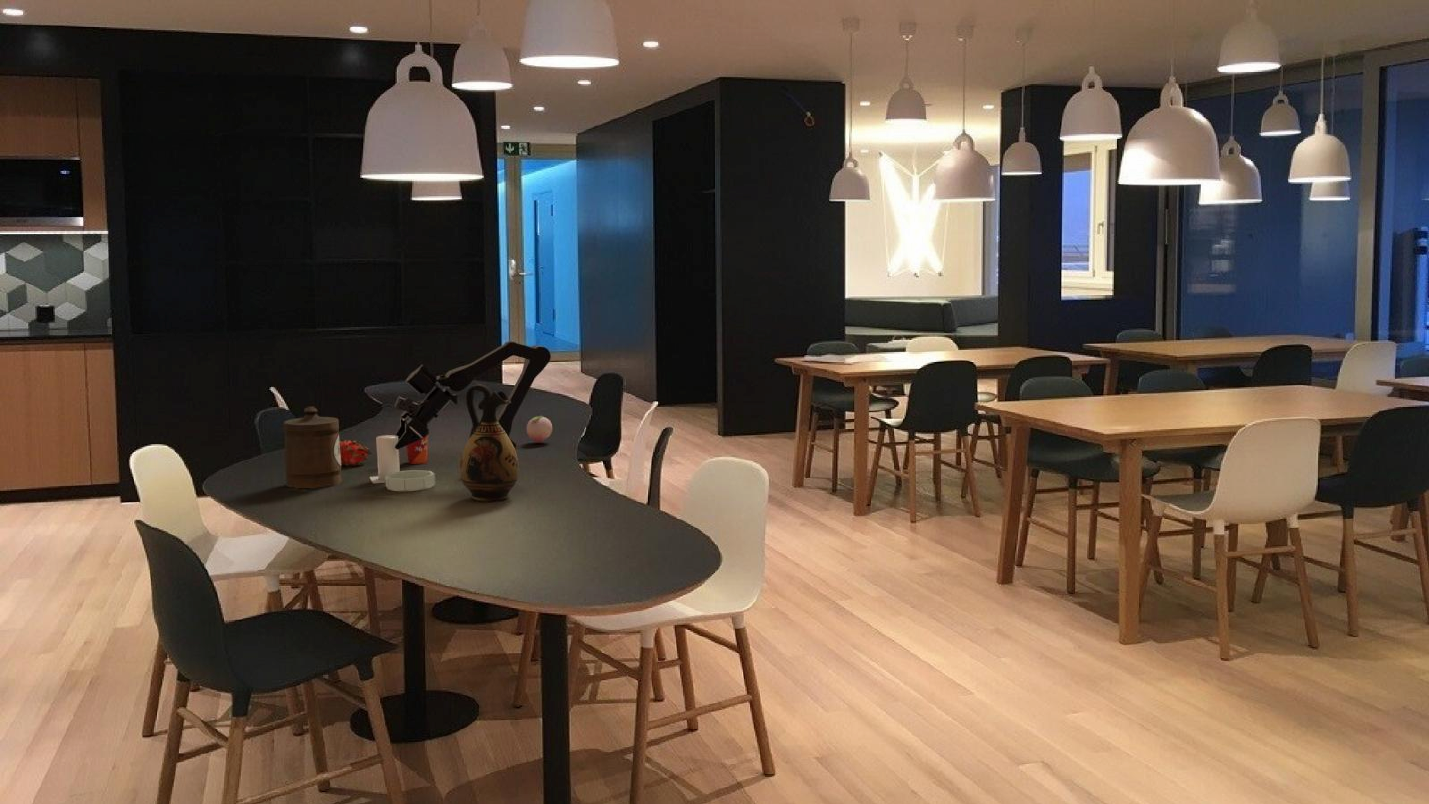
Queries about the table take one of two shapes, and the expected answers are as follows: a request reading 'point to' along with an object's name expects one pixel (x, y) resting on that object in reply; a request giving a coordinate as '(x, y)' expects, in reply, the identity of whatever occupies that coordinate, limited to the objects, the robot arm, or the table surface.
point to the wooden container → (312, 451)
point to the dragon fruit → (352, 453)
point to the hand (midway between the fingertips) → (394, 445)
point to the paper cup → (417, 451)
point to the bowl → (410, 480)
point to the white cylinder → (387, 455)
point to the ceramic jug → (488, 450)
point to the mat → (376, 480)
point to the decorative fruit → (539, 428)
